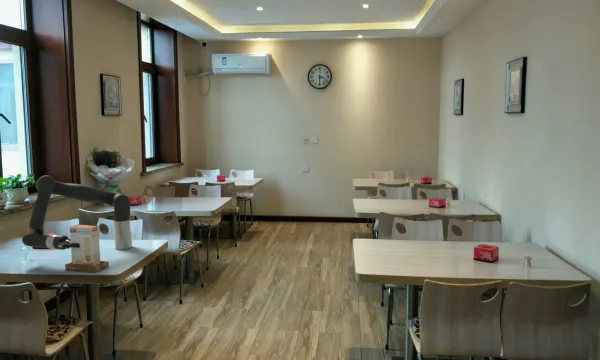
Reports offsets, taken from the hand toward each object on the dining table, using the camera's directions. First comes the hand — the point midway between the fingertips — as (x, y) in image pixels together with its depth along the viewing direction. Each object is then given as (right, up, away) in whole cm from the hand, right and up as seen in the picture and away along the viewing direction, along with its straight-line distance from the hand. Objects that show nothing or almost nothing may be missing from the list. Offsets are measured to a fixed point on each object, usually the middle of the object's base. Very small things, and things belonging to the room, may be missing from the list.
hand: (83, 244), depth 264 cm
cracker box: (+1, -11, +1) cm, 11 cm away
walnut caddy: (+1, -13, +1) cm, 13 cm away
